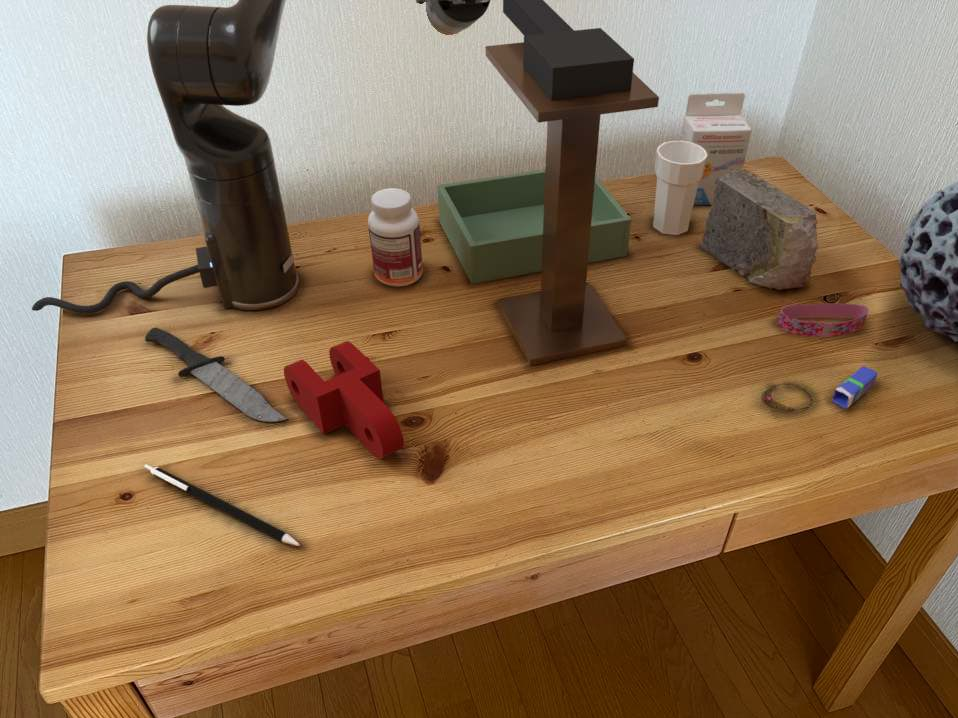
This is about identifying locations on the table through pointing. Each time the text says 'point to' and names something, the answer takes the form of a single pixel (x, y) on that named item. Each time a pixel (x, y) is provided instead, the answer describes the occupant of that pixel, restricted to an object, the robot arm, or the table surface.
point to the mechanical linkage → (347, 399)
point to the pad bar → (568, 53)
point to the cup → (677, 184)
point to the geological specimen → (761, 231)
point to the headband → (822, 310)
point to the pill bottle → (395, 238)
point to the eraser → (854, 387)
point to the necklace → (768, 399)
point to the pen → (222, 505)
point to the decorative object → (933, 262)
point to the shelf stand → (564, 218)
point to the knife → (217, 377)
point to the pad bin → (518, 224)
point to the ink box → (716, 137)
